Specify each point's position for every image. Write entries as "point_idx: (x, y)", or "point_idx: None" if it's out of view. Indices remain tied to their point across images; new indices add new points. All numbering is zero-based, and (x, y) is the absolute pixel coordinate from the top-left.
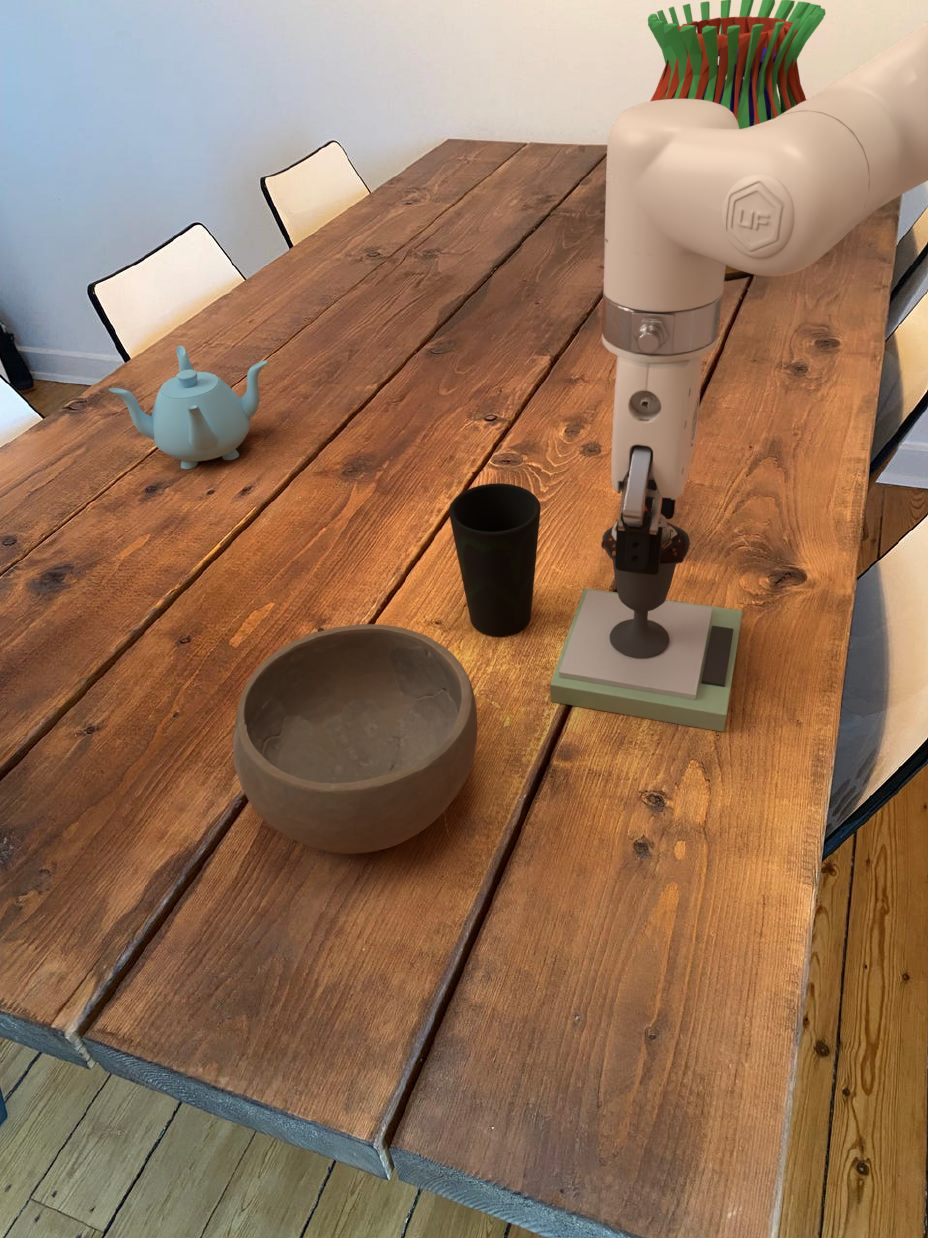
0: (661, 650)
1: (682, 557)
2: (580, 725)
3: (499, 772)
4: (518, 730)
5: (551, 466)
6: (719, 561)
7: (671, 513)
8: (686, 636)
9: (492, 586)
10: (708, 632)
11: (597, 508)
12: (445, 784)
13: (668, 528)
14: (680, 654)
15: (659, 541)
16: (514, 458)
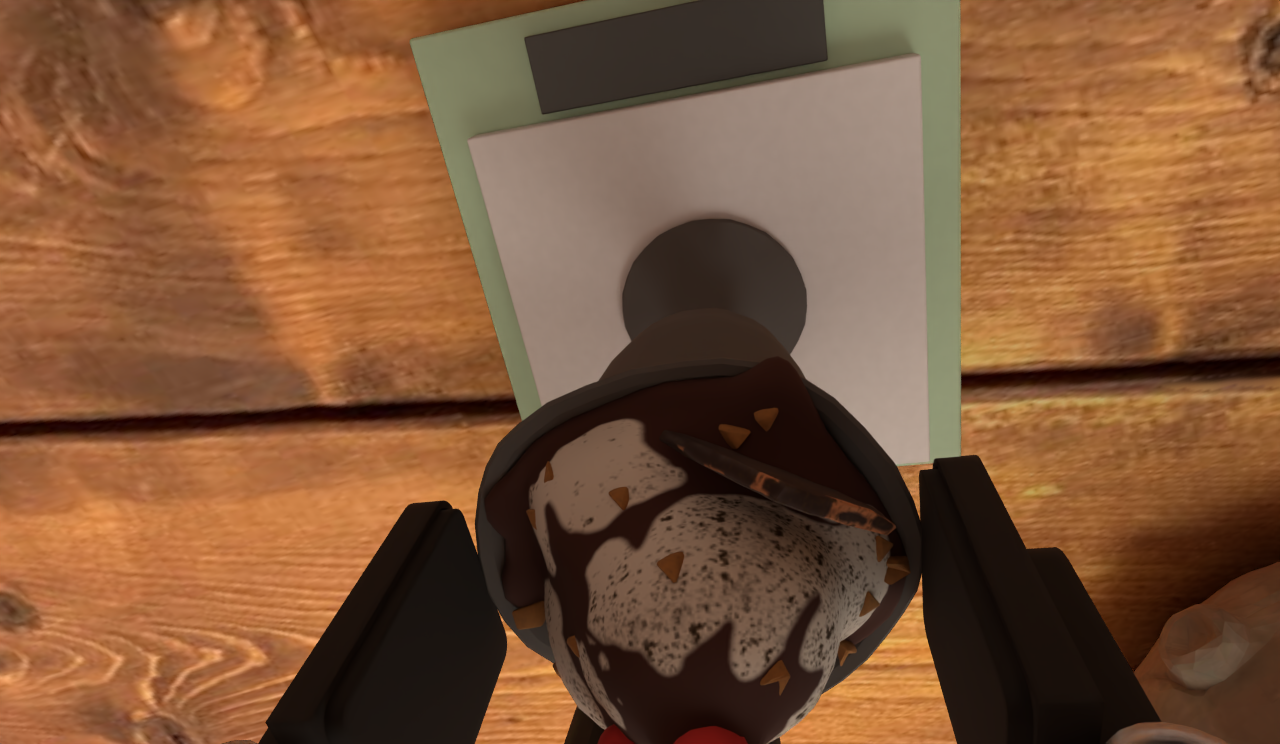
0: (751, 230)
1: (773, 372)
2: (1012, 334)
3: (1227, 453)
4: (1066, 459)
5: (127, 664)
6: (188, 191)
7: (445, 526)
8: (642, 176)
9: (778, 740)
10: (570, 116)
11: (196, 538)
12: None
13: (681, 542)
14: (735, 168)
15: (1061, 625)
16: (157, 730)
